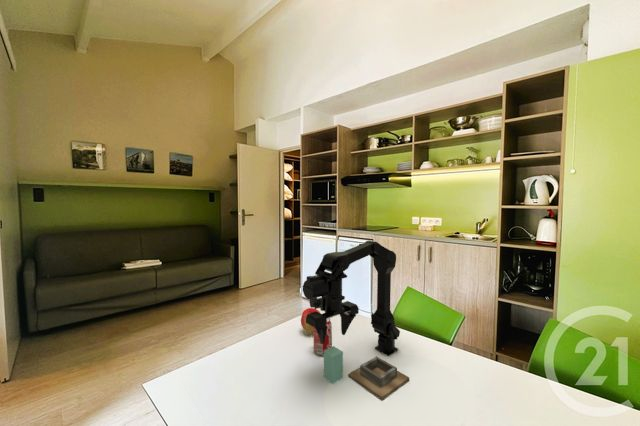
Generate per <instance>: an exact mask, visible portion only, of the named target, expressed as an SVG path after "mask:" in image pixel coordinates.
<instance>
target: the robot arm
mask: <svg viewBox="0 0 640 426" xmlns="http://www.w3.org/2000/svg"><path fill="white" fill-rule="evenodd" d="M368 256H369V257H371V258H372V262H373V266H374V268H375V270H376V272H377V278H376V279H377V282H376V283H377V284H376V286H377V287H376V293H377V295H376V310H375V311H374V313H371V314H370V317H371V318H370V319H371V321H370V324H371V327H372V328H373V331H374V332H375V333H377V334H378V336H377V337H378V338H377V339H378V340H377V345H376V346H375V347H374V350H376V351H378V352H380V353H382V354H384V355H386V356H390V355H393V354H394V353H396V352H398V351H399V348H398V347H396V346H395V344H396V343H395V342H396V340H398V338H400V333H401V331H400V329H399V328H397V326H396V324H395V323H396V322H395V317H394V315H393V313H392V311H391V291H392V290H391V288H392V287H391V286H392V285H391V282H392V280H391V279H392V278H391V277H392V272H393V271H394V270H395V268H396V263H397V254H396V253H395V252H394V251H393V250H390V249H388V248H386V247H385V246H383V245H382V244H380V243H379V242H378V241H374V240H366V241H365V242H363V243H361V244H358V245H355V246H354V247H351V248H349V249H346V250H344V251H334V252H328V253H325V254H324V255H323V256H322V260H321V262H320V263H319V266H318V267H317V269H316V271H315V273H314V274H315V275H309V276H306V280H304V282H303V285H302V292H303V295H304V297H305V299H307V300H309V308H314V309H317V310H318V309H320V310H319V312H320V311H322V312H320V313H319V312H317V311H315V312H312V313H309V314H307V315H306V323H307V324H309V325H311V326H312V327H314V328H315V329H316V331H317V333H318V336H319V339H320V342H321V343H322V344H324V342H325V337H326V331H327V326H326V323H327V319H329V318H330V319H332V318H334V317H337V316H340V327H341V329H340V330H341V335H342V336H345V335H346V333H347V332H348V329H349V327H350V325H351V324H352V322H353V320H354V318H356V316H357V315H358V314H359V313H360V312H359V309H360V307H359V306H358V305H357V304H356V303H354V302H351V301H349V300H347V301H344V300H345V298H346V296H344V295H343V279H347V278H348V275H347V274H346V273H345V271H347V270H348V269H349V268H350V265H351V264H353V263H356V262H357V261H359V260H361V259H364V258H366V257H368ZM343 301H344V302H343ZM323 312H324V313H323Z"/></svg>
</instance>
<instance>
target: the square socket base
mask: <svg viewBox="0 0 640 426" xmlns="http://www.w3.org/2000/svg"><path fill="white" fill-rule="evenodd" d="M347 376H348V378H349V379H351V380H352V381H353V382H355V383H356V384H358V385H359V386H361V387H362V388H364V389H365V390H366V391H368V392H369V393H371V395H374V396H375V397H376V398H378V399H379V400H380V401H384V400H385V399H386V398H387V397H389V396H390V395H392V394H393V393H394V392H396V391H398V389H400V388H401V387H403V386H404V385H405V384H407V383H408V382H410V377H409V376H407V375H406V374H404V373H403V372H401V371H399V370H398V367H396V366H394V365H393V364H391V363H389V362H387V361H386V360H384V359H382V358H381V357H379V356H374V357H373V358H371V359H369V360H368V361H365V362H364V363H362V364H361V365H359V367H357V368H356V369H355V370H353V371H351V372H350V373H347Z"/></svg>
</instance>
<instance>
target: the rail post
mask: <svg viewBox="0 0 640 426" xmlns="http://www.w3.org/2000/svg"><path fill="white" fill-rule="evenodd" d="M323 378H325V379H326V380H328V382H330V383H331V384H335V383H337V382H338V381H341V380H342V379H343V378H344V352H343V350H341V349H339V348H338V347H336V346H335V345H332V347H331V348H328V349H326V350H324V356H323Z"/></svg>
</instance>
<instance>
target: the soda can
mask: <svg viewBox="0 0 640 426" xmlns="http://www.w3.org/2000/svg"><path fill="white" fill-rule="evenodd" d="M332 324H333V323H332V321H331V318H329V319H327V323H326V326H327V331H326V337H325V342H324V344H322V343H321V342H320V339H319V336H318V333H317V331H316V329H315V328H314V327H313V337H312V338H313V352H314V353H315V354H316V355H318V356H321V357H324V350H326V349H328V348H331V347H333V331H332V330H333V329H332V328H333V326H332Z"/></svg>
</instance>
